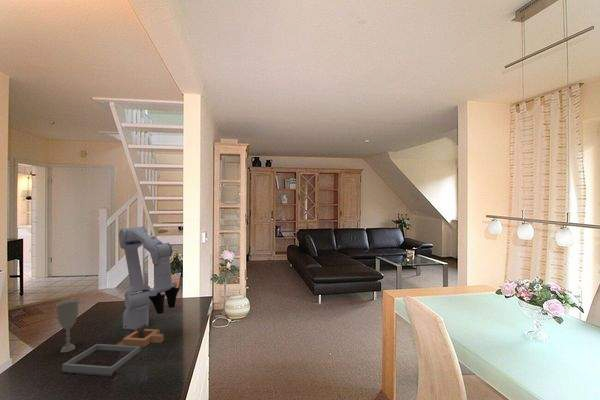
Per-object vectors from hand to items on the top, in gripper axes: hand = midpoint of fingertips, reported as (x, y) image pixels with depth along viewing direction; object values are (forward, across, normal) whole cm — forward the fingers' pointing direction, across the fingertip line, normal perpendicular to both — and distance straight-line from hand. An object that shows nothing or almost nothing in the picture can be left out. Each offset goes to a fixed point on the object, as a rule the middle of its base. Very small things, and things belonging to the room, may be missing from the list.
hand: (166, 310), depth 112 cm
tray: (+12, -14, +16) cm, 24 cm away
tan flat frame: (+11, 0, +9) cm, 14 cm away
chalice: (+9, -9, +34) cm, 37 cm away
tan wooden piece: (+11, 0, +13) cm, 17 cm away
